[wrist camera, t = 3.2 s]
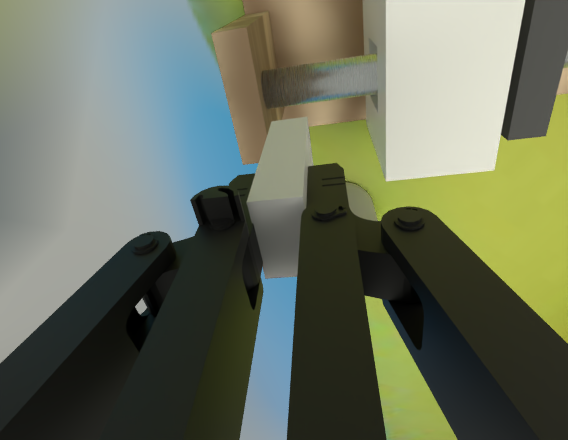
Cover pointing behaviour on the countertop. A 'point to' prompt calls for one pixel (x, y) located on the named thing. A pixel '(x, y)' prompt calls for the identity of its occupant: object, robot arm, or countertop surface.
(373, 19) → the sleeve
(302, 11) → the stand
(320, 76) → the pipe
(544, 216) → the countertop surface
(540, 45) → the dark grey square plate
